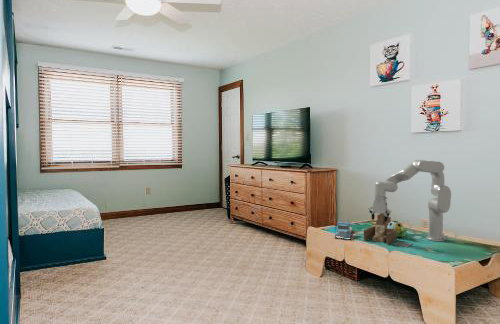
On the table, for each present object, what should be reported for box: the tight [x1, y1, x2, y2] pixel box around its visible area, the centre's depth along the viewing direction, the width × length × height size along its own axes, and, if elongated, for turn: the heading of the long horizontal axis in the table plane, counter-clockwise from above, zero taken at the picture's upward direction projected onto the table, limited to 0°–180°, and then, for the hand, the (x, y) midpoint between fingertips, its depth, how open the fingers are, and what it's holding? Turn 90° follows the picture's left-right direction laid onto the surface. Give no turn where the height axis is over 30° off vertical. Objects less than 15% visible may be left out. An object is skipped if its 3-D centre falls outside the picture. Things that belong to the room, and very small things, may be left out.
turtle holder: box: [387, 220, 407, 238], centre depth 282 cm, size 12×18×12 cm
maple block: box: [375, 225, 385, 238], centre depth 272 cm, size 5×5×8 cm
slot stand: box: [363, 225, 398, 246], centre depth 273 cm, size 18×17×8 cm
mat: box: [392, 241, 413, 248], centre depth 261 cm, size 10×10×1 cm
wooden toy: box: [375, 211, 393, 228], centre depth 300 cm, size 16×7×25 cm, turn 40°
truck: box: [334, 217, 353, 240], centre depth 290 cm, size 12×29×15 cm, turn 162°
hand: (379, 220), depth 272 cm, fingers open, 9 cm apart
